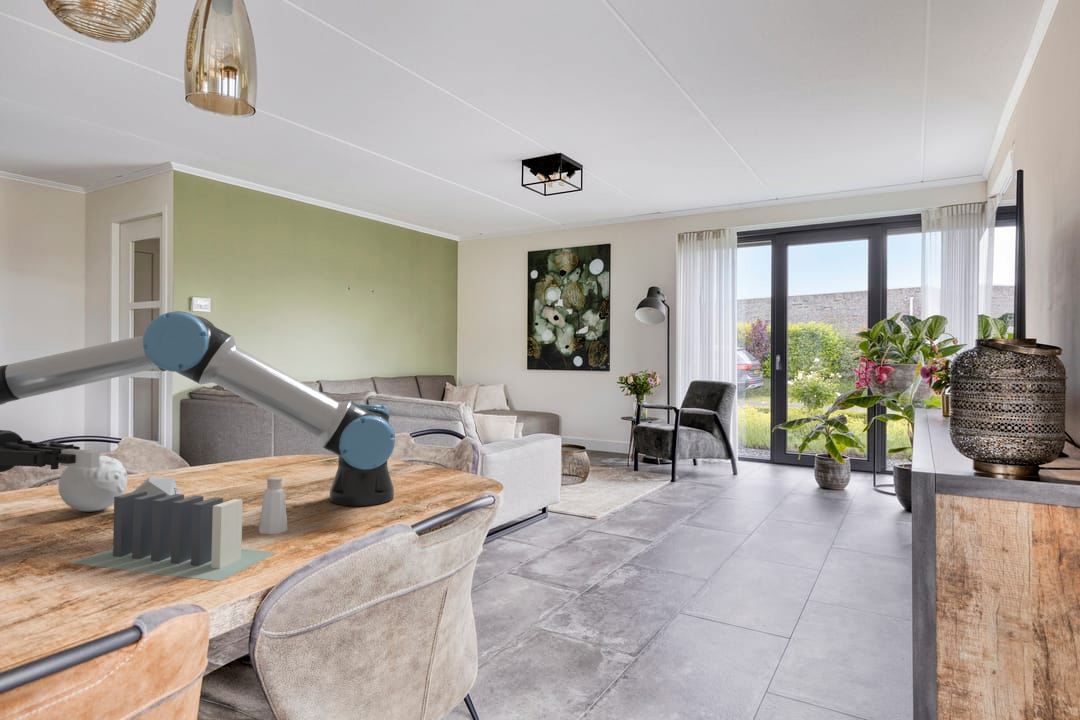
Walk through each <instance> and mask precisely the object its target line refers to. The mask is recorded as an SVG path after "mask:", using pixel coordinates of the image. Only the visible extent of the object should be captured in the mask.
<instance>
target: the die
mask: <svg viewBox="0 0 1080 720" xmlns="http://www.w3.org/2000/svg"><path fill="white" fill-rule="evenodd" d="M136 491H147V495H149V494H153V493H157V492H161V493H166V497H167V496H170V495H174V494H181V492H180V490H179V488H178V485H177V483H176V481H175V478H174V476H172V477H170V476H169V477H168V476H165V477H164V476H163V477H162V476H149V477H147V478H146V480H144V481H143V482H142V483H141V484H139V486H137V488H136V489H134V490H133V491H132V492H136Z"/></svg>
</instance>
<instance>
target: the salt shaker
mask: <svg viewBox="0 0 1080 720" xmlns="http://www.w3.org/2000/svg"><path fill="white" fill-rule="evenodd" d="M266 482H267V486H266V487H267V488H266V489H265V490H264V491H263V498H262V503H261V510H260V512H261V513H260V517H259V518H260V520H259V526H258V531H259V533H260V534H267V535H273V534H281V533H284V532H286V531H288V520H287V507H286V505H287V504H286V494H285V489H284V488H282V485H283V483H282V482H283V477H282V476H280V475H272V476H269V477H267V478H266Z"/></svg>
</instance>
